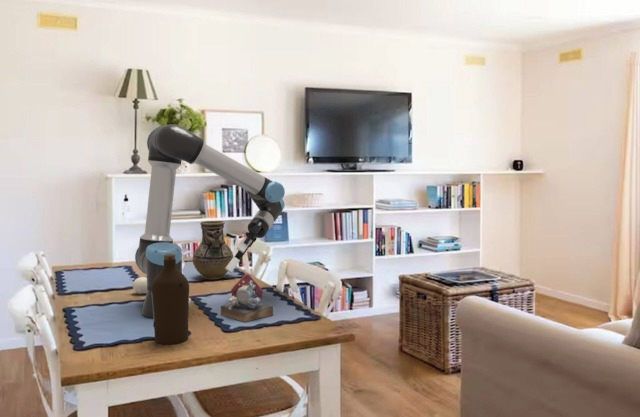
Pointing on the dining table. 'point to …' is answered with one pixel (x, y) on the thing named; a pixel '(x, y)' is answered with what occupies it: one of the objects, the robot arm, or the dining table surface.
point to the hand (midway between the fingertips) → (234, 260)
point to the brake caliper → (246, 294)
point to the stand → (247, 312)
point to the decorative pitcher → (212, 251)
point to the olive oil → (170, 303)
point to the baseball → (140, 285)
